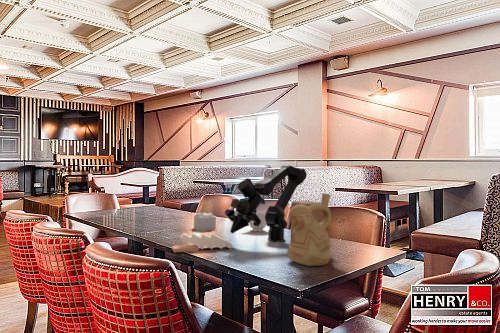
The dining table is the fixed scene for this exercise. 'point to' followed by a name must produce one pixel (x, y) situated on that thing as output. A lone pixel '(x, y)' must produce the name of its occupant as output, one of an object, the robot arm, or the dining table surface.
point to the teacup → (262, 225)
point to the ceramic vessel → (310, 234)
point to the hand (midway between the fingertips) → (231, 232)
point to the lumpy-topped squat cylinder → (204, 221)
